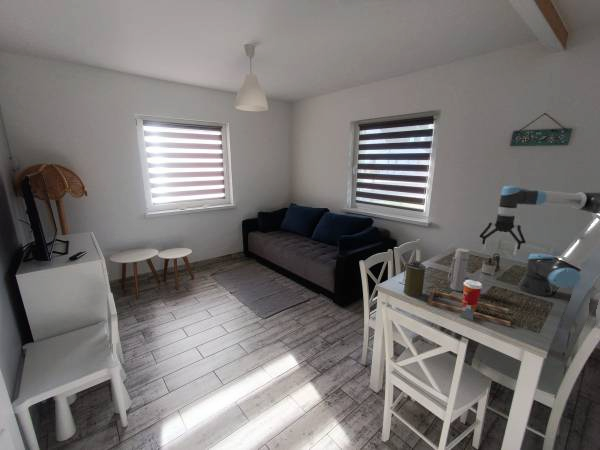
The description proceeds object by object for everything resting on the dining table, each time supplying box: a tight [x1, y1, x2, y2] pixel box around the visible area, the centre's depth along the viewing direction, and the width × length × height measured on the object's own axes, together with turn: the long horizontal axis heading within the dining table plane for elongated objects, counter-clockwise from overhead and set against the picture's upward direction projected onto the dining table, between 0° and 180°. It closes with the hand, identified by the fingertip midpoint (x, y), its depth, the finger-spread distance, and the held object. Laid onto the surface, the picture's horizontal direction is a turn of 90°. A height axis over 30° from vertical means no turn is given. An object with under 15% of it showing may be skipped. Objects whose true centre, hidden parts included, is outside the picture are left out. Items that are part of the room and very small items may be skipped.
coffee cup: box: [461, 279, 483, 312], centre depth 138 cm, size 8×8×15 cm
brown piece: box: [426, 289, 511, 328], centre depth 140 cm, size 36×15×2 cm, turn 55°
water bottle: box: [447, 247, 470, 292], centre depth 159 cm, size 9×8×25 cm
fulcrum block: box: [460, 305, 474, 321], centre depth 131 cm, size 5×4×6 cm
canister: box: [403, 259, 427, 298], centre depth 154 cm, size 11×10×20 cm
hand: (499, 252), depth 147 cm, fingers open, 13 cm apart
